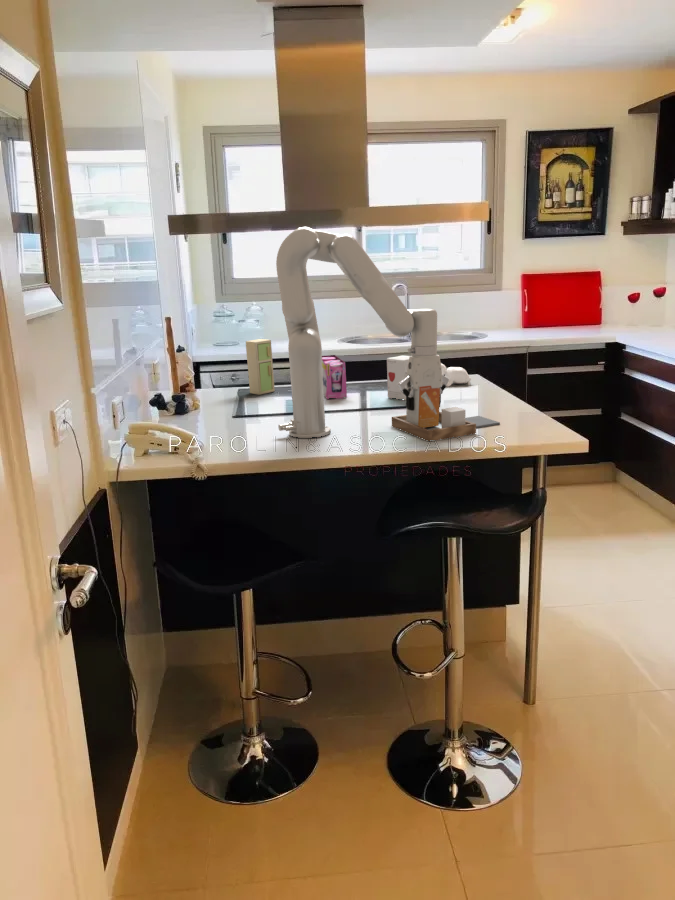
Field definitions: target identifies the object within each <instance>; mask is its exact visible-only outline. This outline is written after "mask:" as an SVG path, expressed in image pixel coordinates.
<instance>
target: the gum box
mask: <svg viewBox="0 0 675 900" xmlns="http://www.w3.org/2000/svg"><path fill="white" fill-rule="evenodd" d="M346 373H347V372H346V362H345V361H344V360H343V359H341V358H340V357H338V356H337V355H336V354H329V355H322V375H323V393H324V395H325V396H324V398H325V399H326V400H330V399H329V398H336V399H344V398H343V397H348V395H347V393H348V392H347V374H346Z"/></svg>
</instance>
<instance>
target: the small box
mask: <svg viewBox="0 0 675 900" xmlns="http://www.w3.org/2000/svg"><path fill="white" fill-rule="evenodd" d="M410 385H411V384H409V386H410ZM407 389H408V387H407ZM412 397H413V398H414V410H413V411H411V410H408V409H407V408H406V414H405V415H406V421H407V422H410V423H412V424H415V425H418V426H420V427H423V428H425V429H426V428H432V427H438V426H439V424H440V422H439V412H440V407H439V402H440V388H432V387H431V386H419V387H418V390H415V393H414V394H413V396H412Z"/></svg>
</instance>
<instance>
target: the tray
mask: <svg viewBox="0 0 675 900" xmlns="http://www.w3.org/2000/svg"><path fill="white" fill-rule="evenodd" d="M439 424H442V411H439ZM392 426H393V427H392ZM391 427H392V428H395V429H397V428H398V429H397V430H399V429H401V430H400V431H402V430H403V431H402V432H404V431H406V432H405V433H407V432H408V433H407V434H409V433H411V434H413V435H412V436H414V435H415V436H414V437H416V436H418V437H417V438H419V437H420V438H419V439H421V438H423V439H425V440H424V441H426V440H428V441H430V440H436V441H441V440H440V439H442V440H446V439H447V438H448V439H452V437H454V438H459V437H458V436H460V437H465V436H464V435H466V436H471V435H470V434H472V435H476V434H477V428H476V424H475V423H472V422H469V421H466V420H465V425H459V426H453V427H447V428H442V427H441V428H435V429H427V428H426V427H425V428H423V427H420V426H418V425H415V424H412V423H410V422H407V421H406V414H402V415H396V416H391ZM475 433H476V434H475ZM411 434H410V435H411ZM423 439H422V440H423ZM428 441H427V442H428ZM430 442H431V441H430Z"/></svg>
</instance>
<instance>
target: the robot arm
mask: <svg viewBox="0 0 675 900" xmlns="http://www.w3.org/2000/svg"><path fill="white" fill-rule="evenodd" d="M308 260H313V261H319V262H324V263H325V262H326V263H332V264H336V265H337V266H338V267H339V269H340V270H341V271H342V273H343V274H344V275H345V277H346V278H347V280H348V281H349V282H350V284H351V285H352V286H353V288H354V289H355V291H357V292H358V294H359V295H360V296H361V297H362V299H363V300H365V301H366V302H367V303H368V304H369V305H370V306H371V308H372V309H373V310H374V312H375V313H376V314H377V315H378V316H379V318H380V319H381V320H382V322H383V323H384V325H385V328H386V329H387V331H389V332H390V333H391V334H392V335H394V337H399V338H400V337H401V338H402V337H406V336H408V335H410V334H411V335H410V336H411V338H410V339H411V340H410V341H411V345H410V347H409V348H408V349H407V353H408V354H410V355H409V356H410V357H409V362H408V368H407V377H406V378H405V379H403V380H402V381H401V382H400V383H398V386H399V388H400V389H401V392H402V393H403V394H404V395H405V396H406V401H405V406H406V410H407V409H408V410H411V411H413V410H414V398H413V397H412V396H413V394H414V393H415V390H418V387H419V386H431V387H432V388H440V402H439V408H441V403H442V394H443V393H444V390H446V388H447V386H446V385H447V383H448V381H449V379H448V378H446V377H445V375H444V376H443V375H442V369H441V363H442V362H441V357H440V355H439V354H438V353H437V352H438V311H437V310H436V309H433V308H416V309H408V308H407V307H406V306H405V304H404V303H403V302H402V300H401V299H400V297H399V296H398V295H397V294H396V292H395V291H394V289H393V288H392V287H391V286H390V284H389V282H388V281H387V279H386V278H385V277H384V275H383V274H382V272H381V271H380V270H379V268H378V267H377V265H376V264H375V263H374V262H373V260H372V259H371V257H370V256H369V255H368V254H367V252H366V251H365V249H364V248H363V247H362V245H361V244H360V243H359V241H358V240H357V239H356V238H355V237H354V236H353V235H352V234H349V233H342V234H340V233H334V232H333V233H331V232H328V231H322V230H317V229H313V228H311V227H309V226H302V227H301V226H300V227H298V228H296V229H294V230H293V231H292V232H291V233H290V234H288V235H287V236H286V237H285V238H284V240H283V241H282V242H281V244H280V246H279V248H278V251H277V255H276V263H275V264H276V266H275V268H276V275H277V280H278V288H279V293H280V298H281V299H280V300H281V310H282V314H283V316H284V321H285V325H286V332H287V335H288V336H287V337H288V346H287V347H288V350H287V351H288V359H289V361H288V362H289V373H290V385H291V386H290V387H291V398H292V399H291V401H292V402H291V404H292V415H293V418H292V419H290V421H289V422H287V423H280V424H278V430H279V431H280V432H282V431H285V432H289V434H288V435H289V436H291V437H292V436H293V438H296V437H298V438H297V439H313V438H312V437H317V438H322V437H324V436H325V435H326V436H328V435H330V434H331V429H332V428H330V427H329V426H326V419H325V417H326V415H325V396H324V393H323V375H322V356H323V354H322V353H323V349H322V348H323V347H322V341H321V338H320V337H321V335H320V332H319V331H320V330H319V327H318V321H317V320H318V319H317V315H316V308H315V303H314V299H313V298H312V295H311V290H310V285H309V279H308V271H307V263H308ZM406 384H407V387H408V389H406V388H405V385H406ZM409 384H411V385H410V386H409ZM321 436H322V437H321Z"/></svg>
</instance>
